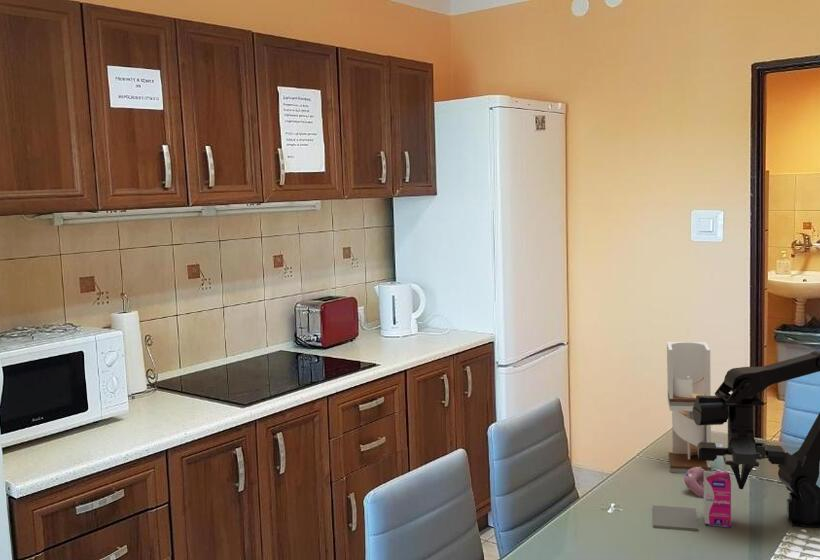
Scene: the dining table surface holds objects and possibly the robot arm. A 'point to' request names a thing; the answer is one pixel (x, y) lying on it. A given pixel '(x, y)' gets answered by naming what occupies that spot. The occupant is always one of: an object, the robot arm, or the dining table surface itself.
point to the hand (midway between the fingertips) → (740, 488)
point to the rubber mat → (675, 518)
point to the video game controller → (695, 480)
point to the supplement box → (717, 499)
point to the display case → (687, 402)
